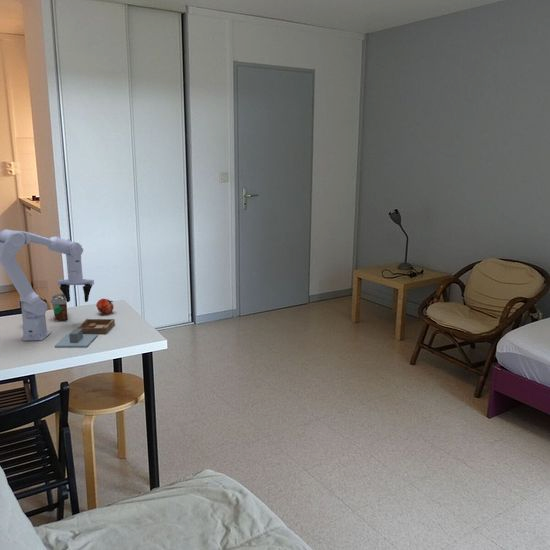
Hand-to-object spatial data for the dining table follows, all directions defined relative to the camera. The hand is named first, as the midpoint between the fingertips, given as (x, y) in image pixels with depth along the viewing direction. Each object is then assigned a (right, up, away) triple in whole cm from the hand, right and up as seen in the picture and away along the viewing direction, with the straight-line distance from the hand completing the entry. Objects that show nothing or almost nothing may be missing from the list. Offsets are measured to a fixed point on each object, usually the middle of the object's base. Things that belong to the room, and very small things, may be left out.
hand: (77, 301), depth 224 cm
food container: (-12, -8, +11) cm, 18 cm away
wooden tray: (+9, -11, -3) cm, 15 cm away
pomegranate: (+6, -7, +18) cm, 20 cm away
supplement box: (-20, -10, +2) cm, 23 cm away
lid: (+6, -15, -17) cm, 24 cm away
